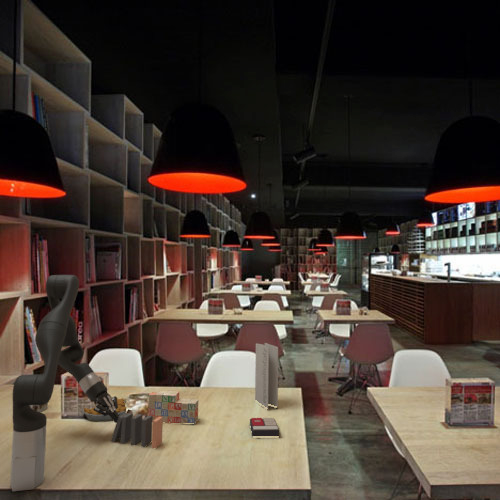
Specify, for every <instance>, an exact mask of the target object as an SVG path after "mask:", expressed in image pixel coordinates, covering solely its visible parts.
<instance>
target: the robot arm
mask: <svg viewBox="0 0 500 500" xmlns="http://www.w3.org/2000/svg"><path fill="white" fill-rule="evenodd" d="M79 287H80V280H79V278H78V277H77V275H75V274H54V275H53V274H52V275H49V276H48V278H47V279H46V282H45V292H46V296H47V300H48V304H49V306H50V309H51V310H50V312H48V313H46V315H45V316H44V317H43V318H42V319H41V320H40V322H39V325H38V327H37V330H36V334H35V338H34V342H35V346H36V349H37V351H38V352H39V354H40V356H41V358H42V360H43V363H44V365H43V366H44V369H43V373H41V374H40V373H39V374H20V375H18V377H16V379H15V380H14V383H13V387H12V440H11V441H12V445H11V446H12V447H11V463H10V464H11V466H10V489H11V491H12V492H18V491H21V492H22V491H28V490H31V491H32V490H35V488H37V487H39V486H40V485H42V484H43V483H44V481H45V468H46V467H45V466H46V465H45V462H46V441H47V439H46V438H47V423H48V422H47V416H46V414H44V413H43V412H38V411H35V410H33V409H32V408H31V407H30V406H29V405H43V404H47V403H49V402H50V400H51V399H52V395H53V393H54V387H55V381H56V377H57V371H58V366H59V367H60V368H62V369H63V370H65V371H66V372H67V373H69V374H70V375H71V376H72V377H73V378H74V379H75V380H76V382H77V384H78V385H79V387H80V389H81V390H82V391H83V393H84V394H85V396H86V397H87V398H88V400H89V402H94V404H95V408H94V409H93V410H94V411H96V412H98V413H100V414H102V415H104V416H107V415H108V416H110V417H111V418H112V420H111V421H113V422H114V423H115V424H116V423H117V420H118V417H119V414H118V413H117V412H116V409H117V408H118V403H117V398H118V397H117V396H116V395H115V396H111V394H110V393H108V387H107V386H106V384H105V383H104V382H103V380H101V378H100V376H98V374H97V373H95V371H94V370H93V368H92V366H90V364H88V363H87V362H81V363H77V362H80V361H81V360H82V359H83V357H84V355H85V354H84V352H85V350H84V349H83V347H82V344H81V343H80V341H79V338H78V332H77V326H76V322H75V321H74V318H73V317H72V316H71V313H72V310H73V307H74V304H75V301H76V299H77V296H78V292H79ZM60 299H61V300H60ZM63 347H66V348H64V349H62V348H63Z"/></svg>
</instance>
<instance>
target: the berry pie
mask: <svg viewBox="0 0 500 500" xmlns="http://www.w3.org/2000/svg"><path fill="white" fill-rule="evenodd" d="M124 399H125V398H118V397H117V403H118V408H117V409H116V412H117V413H118V414H119V416H121V415H122V414H124V413H125V412H126V407H125V403H124ZM83 408H84V407H83ZM94 408H95V407H94ZM94 408H92V409H88V408H87V409H86V408H84V410H83V409H82V413H84V415H85V417H86V419H88V420H90V421H94V422H95V421H96V422H104V421H105V422H107V421H113V420H112V418H111V417H110V416H108V415H107V416H104V415H102V414H100V413H98V412H96V411H94V410H93V409H94Z"/></svg>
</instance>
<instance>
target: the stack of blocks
mask: <svg viewBox="0 0 500 500" xmlns="http://www.w3.org/2000/svg"><path fill="white" fill-rule="evenodd" d="M148 415H150V416H152V423H153V420H155V419H156V418H158V417H163V422H165V423H164V424H171V423H194V424H195V425H196V423H197V422H198V421H199V399H198V398H197V399H193V398H180V391H174V390H172V391H169V390H167V391H166V390H153V391H152V392H150V393H149V394H148ZM197 420H198V421H197ZM196 421H197V422H196ZM169 422H170V423H169ZM195 422H196V423H195Z"/></svg>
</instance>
